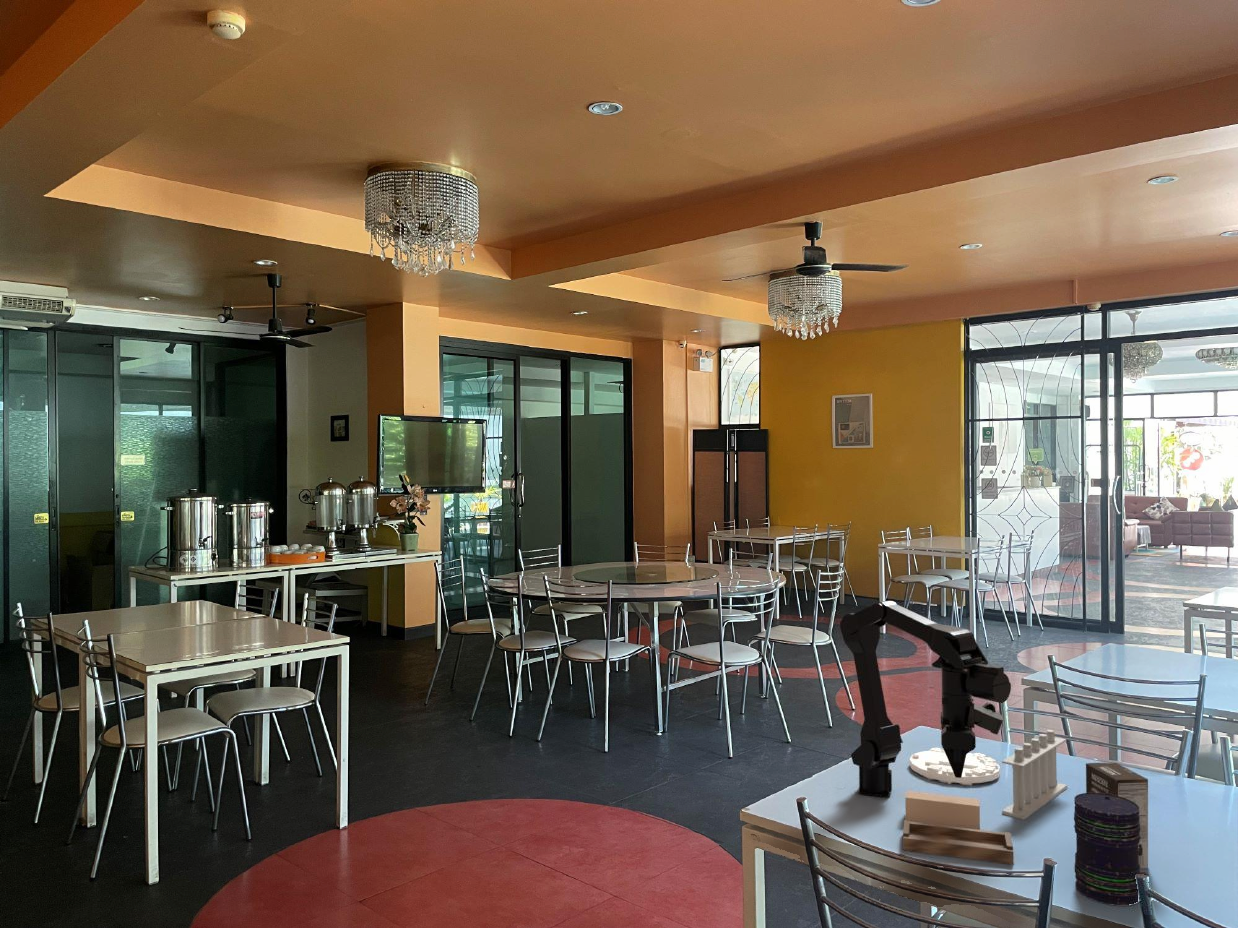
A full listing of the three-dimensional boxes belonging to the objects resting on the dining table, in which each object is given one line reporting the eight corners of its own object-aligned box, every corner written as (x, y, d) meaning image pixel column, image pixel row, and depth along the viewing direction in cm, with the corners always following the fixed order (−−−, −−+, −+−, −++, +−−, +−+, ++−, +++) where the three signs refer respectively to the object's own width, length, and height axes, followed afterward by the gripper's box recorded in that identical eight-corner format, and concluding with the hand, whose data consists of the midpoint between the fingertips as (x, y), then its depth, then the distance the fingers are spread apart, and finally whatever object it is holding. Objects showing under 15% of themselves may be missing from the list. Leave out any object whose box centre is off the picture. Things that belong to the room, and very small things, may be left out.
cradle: (903, 849, 166) (903, 834, 166) (904, 832, 174) (904, 818, 174) (1013, 864, 160) (1013, 848, 160) (1009, 845, 168) (1009, 830, 168)
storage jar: (1140, 911, 142) (1139, 818, 143) (1072, 896, 148) (1070, 806, 148) (1142, 886, 151) (1141, 799, 151) (1077, 873, 156) (1076, 788, 156)
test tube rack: (1023, 820, 180) (1023, 754, 180) (1001, 814, 183) (1001, 750, 184) (1067, 788, 198) (1066, 729, 198) (1046, 783, 201) (1046, 725, 201)
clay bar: (905, 821, 180) (905, 797, 180) (906, 814, 184) (906, 790, 184) (979, 831, 175) (979, 806, 175) (979, 823, 179) (979, 799, 179)
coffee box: (1084, 848, 166) (1083, 762, 166) (1117, 846, 167) (1116, 761, 167) (1116, 870, 157) (1115, 779, 157) (1150, 868, 158) (1149, 777, 158)
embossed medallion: (935, 753, 224) (935, 742, 224) (1014, 772, 209) (1014, 759, 209) (894, 772, 210) (894, 759, 210) (975, 793, 196) (974, 779, 196)
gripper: (1003, 707, 167) (1004, 790, 167) (996, 684, 185) (997, 759, 185) (940, 702, 171) (941, 783, 171) (940, 680, 189) (941, 754, 188)
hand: (957, 769), depth 179 cm, fingers open, 9 cm apart
